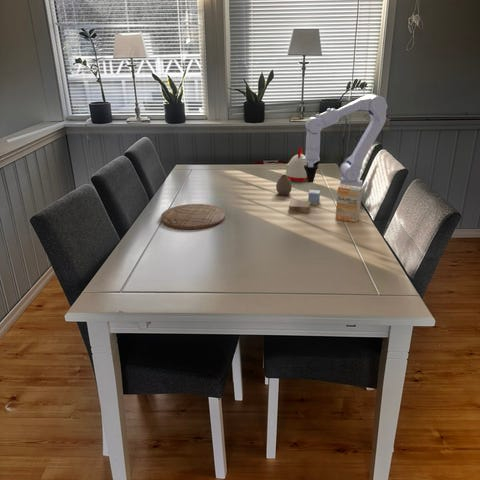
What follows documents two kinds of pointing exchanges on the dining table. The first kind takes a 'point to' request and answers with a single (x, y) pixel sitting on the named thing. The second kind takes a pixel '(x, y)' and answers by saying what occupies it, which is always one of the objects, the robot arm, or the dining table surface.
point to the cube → (314, 196)
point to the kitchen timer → (297, 167)
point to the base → (299, 206)
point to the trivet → (193, 216)
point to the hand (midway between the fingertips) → (311, 179)
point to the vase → (284, 185)
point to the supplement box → (348, 203)
